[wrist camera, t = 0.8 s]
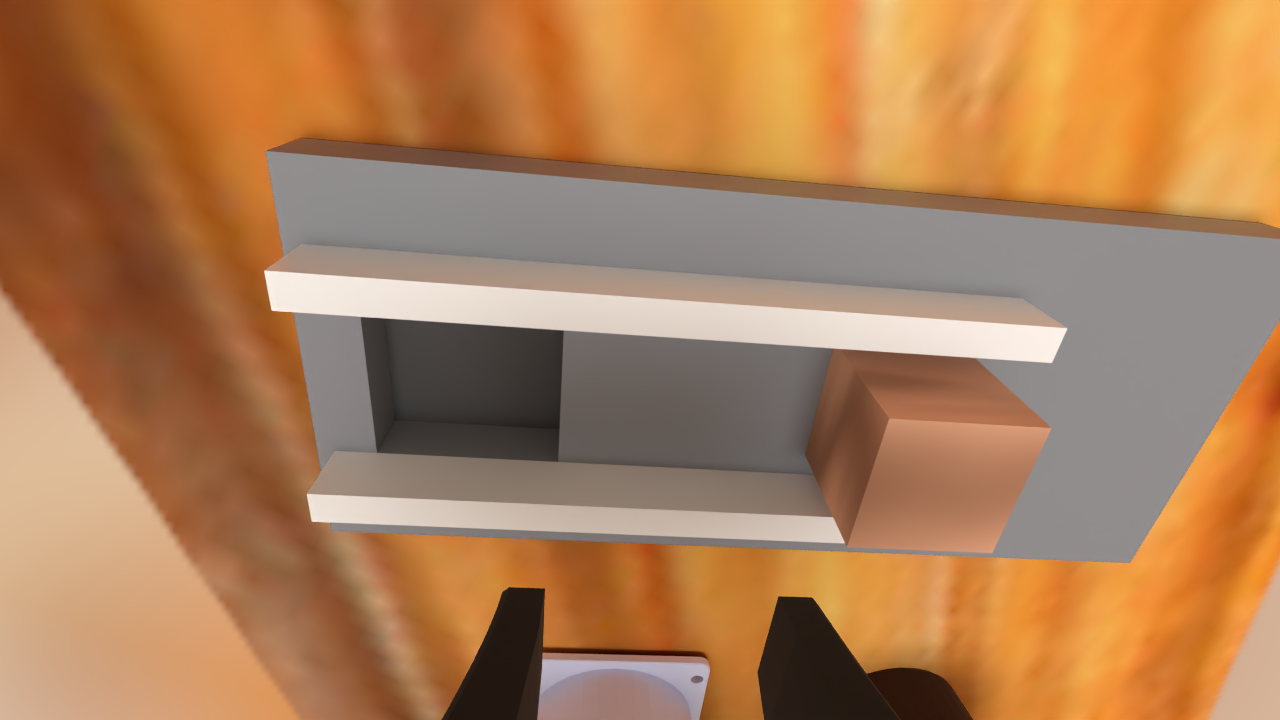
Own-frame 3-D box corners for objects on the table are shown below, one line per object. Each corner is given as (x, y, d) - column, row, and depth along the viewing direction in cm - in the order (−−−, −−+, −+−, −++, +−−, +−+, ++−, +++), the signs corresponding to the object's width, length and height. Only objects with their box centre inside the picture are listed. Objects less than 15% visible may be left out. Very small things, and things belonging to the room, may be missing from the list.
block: (925, 461, 20) (992, 553, 17) (804, 455, 20) (846, 547, 16) (967, 351, 19) (1052, 428, 15) (834, 342, 18) (888, 418, 15)
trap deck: (1092, 524, 25) (1130, 563, 23) (353, 491, 22) (331, 531, 21) (1261, 223, 19) (1327, 243, 17) (301, 137, 17) (265, 150, 15)
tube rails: (938, 504, 21) (968, 548, 19) (338, 477, 20) (311, 521, 18) (1022, 298, 18) (1067, 328, 16) (302, 243, 16) (264, 270, 14)
